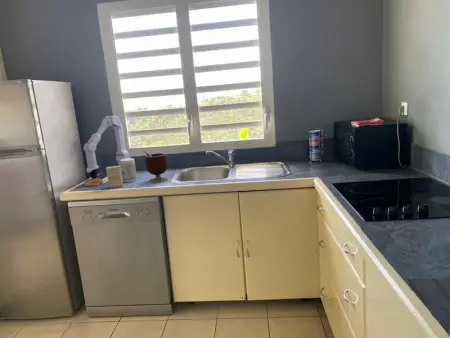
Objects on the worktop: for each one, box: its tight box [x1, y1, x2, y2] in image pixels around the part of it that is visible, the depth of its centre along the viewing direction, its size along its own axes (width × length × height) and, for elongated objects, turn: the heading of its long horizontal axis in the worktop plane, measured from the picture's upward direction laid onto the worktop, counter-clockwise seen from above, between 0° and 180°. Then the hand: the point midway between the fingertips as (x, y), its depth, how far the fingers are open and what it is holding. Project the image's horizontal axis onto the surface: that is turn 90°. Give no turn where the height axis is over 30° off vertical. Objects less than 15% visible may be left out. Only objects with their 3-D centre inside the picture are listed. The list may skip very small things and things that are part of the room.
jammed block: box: [83, 177, 102, 187], centre depth 236 cm, size 5×9×4 cm, turn 87°
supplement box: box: [105, 165, 124, 189], centre depth 225 cm, size 8×5×13 cm, turn 98°
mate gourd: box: [142, 150, 169, 184], centre depth 233 cm, size 16×14×20 cm
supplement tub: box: [120, 157, 138, 183], centre depth 239 cm, size 10×10×15 cm
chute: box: [88, 176, 108, 185], centre depth 246 cm, size 16×13×2 cm
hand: (94, 180), depth 239 cm, fingers closed
